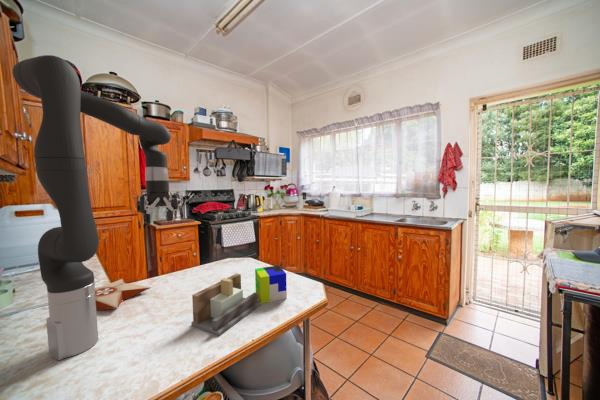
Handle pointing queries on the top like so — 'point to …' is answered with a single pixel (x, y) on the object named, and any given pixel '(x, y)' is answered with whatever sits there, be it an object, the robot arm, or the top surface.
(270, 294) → the puzzle toy
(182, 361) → the top surface
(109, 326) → the top surface
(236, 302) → the wide pale green cuboid
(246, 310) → the board
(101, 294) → the decorative star
